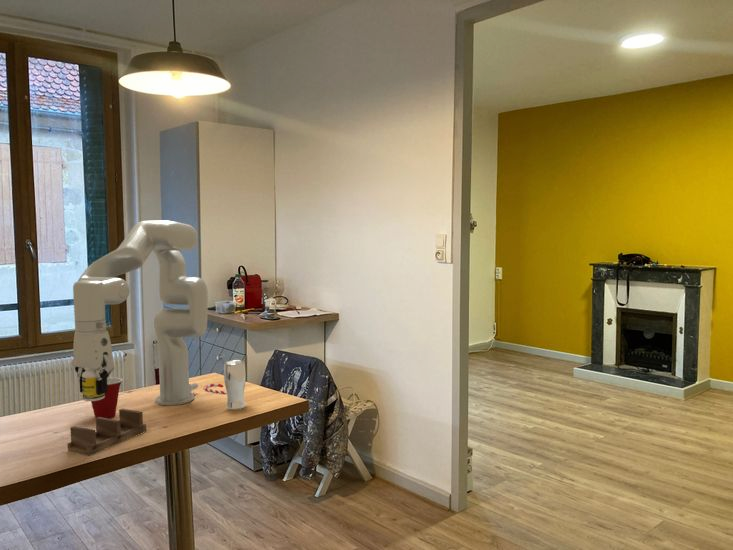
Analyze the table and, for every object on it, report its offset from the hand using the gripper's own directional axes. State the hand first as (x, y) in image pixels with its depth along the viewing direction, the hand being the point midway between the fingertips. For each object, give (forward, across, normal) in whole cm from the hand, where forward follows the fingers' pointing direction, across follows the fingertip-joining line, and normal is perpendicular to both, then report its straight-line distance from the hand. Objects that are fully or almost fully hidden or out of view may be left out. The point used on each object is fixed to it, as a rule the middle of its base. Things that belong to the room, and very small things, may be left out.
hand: (93, 391), depth 161 cm
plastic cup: (+15, +18, -19) cm, 30 cm away
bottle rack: (+15, 0, -4) cm, 16 cm away
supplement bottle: (+2, 0, 0) cm, 2 cm away
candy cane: (+16, +4, -57) cm, 60 cm away
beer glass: (+15, -14, -43) cm, 48 cm away
